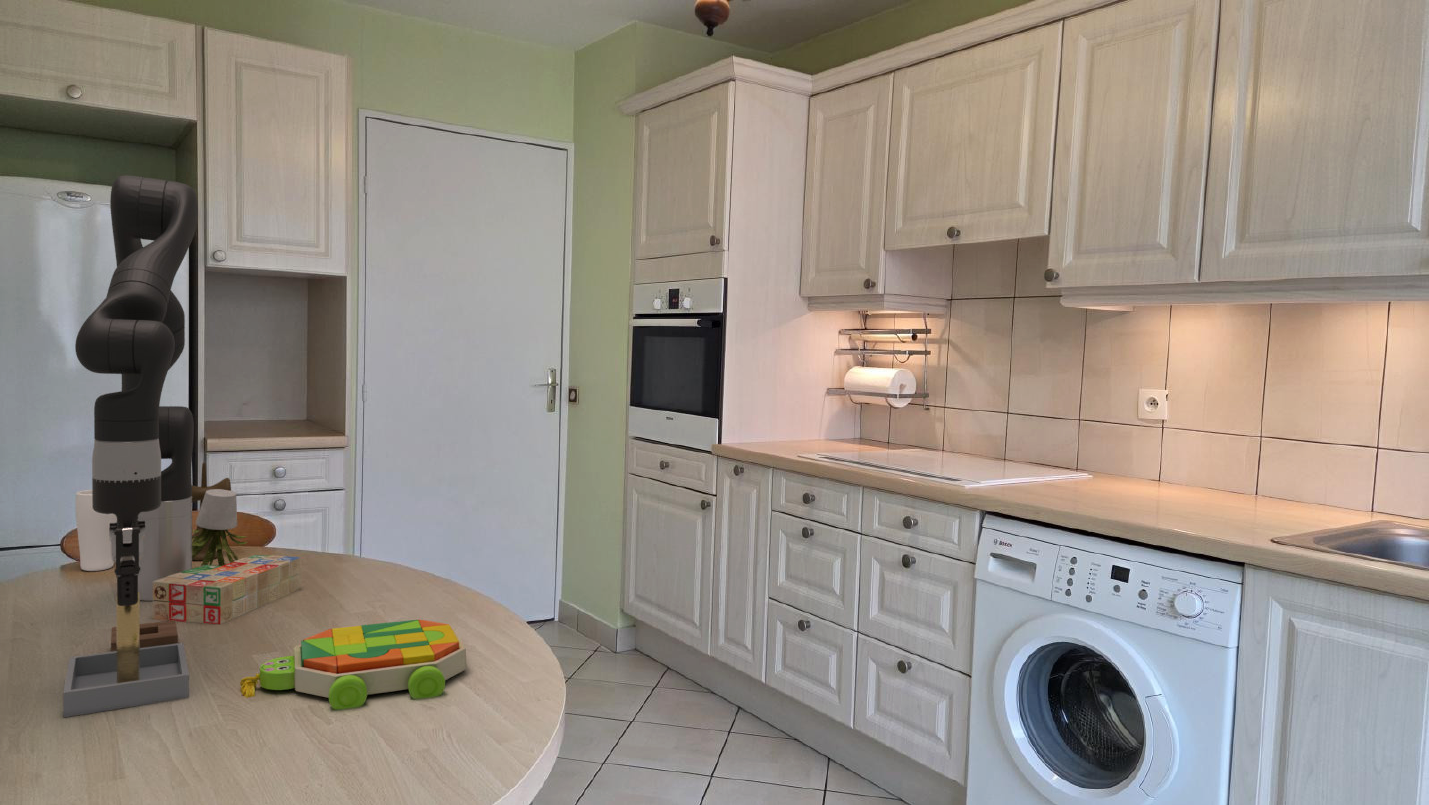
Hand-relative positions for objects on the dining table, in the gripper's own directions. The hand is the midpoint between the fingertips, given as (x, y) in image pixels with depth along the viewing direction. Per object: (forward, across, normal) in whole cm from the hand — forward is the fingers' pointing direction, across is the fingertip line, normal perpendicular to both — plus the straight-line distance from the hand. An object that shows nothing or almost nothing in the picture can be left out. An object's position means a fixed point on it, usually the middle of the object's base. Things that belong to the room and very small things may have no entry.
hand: (127, 595), depth 119 cm
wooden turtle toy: (+12, -12, -26) cm, 31 cm away
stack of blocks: (+9, +29, -20) cm, 36 cm away
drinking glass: (+13, +70, +5) cm, 71 cm away
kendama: (+13, +70, -13) cm, 72 cm away
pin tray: (+12, -2, 0) cm, 12 cm away
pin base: (+12, +13, -2) cm, 18 cm away
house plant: (-3, +54, -16) cm, 57 cm away
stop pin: (+11, -2, 0) cm, 11 cm away
